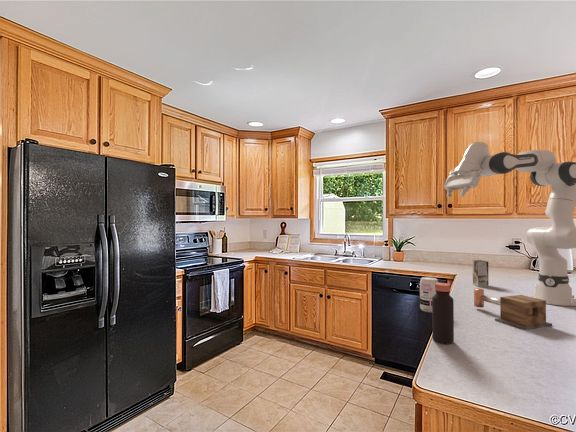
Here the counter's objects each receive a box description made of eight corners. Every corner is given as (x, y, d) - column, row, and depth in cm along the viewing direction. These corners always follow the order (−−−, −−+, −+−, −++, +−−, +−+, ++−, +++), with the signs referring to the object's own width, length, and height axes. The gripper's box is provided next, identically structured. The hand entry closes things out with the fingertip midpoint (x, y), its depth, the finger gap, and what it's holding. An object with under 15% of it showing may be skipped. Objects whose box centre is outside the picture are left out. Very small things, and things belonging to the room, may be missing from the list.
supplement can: (437, 308, 151) (437, 277, 151) (440, 313, 143) (439, 280, 143) (419, 307, 153) (419, 276, 154) (420, 312, 146) (420, 279, 146)
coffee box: (489, 287, 198) (488, 261, 198) (477, 287, 199) (477, 261, 199) (483, 284, 207) (482, 259, 207) (472, 284, 208) (472, 259, 208)
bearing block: (522, 316, 138) (521, 294, 138) (552, 325, 127) (552, 300, 127) (494, 320, 133) (494, 296, 133) (523, 329, 122) (523, 304, 122)
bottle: (450, 346, 106) (450, 287, 107) (429, 341, 111) (429, 284, 111) (456, 340, 111) (455, 283, 112) (435, 335, 116) (435, 281, 116)
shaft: (478, 304, 152) (478, 288, 152) (519, 316, 134) (518, 297, 134) (472, 305, 151) (472, 288, 151) (512, 317, 132) (511, 298, 132)
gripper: (488, 171, 145) (475, 197, 144) (457, 177, 165) (446, 200, 164) (477, 164, 144) (464, 191, 143) (448, 171, 165) (436, 194, 163)
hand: (454, 196), depth 154 cm, fingers open, 8 cm apart
